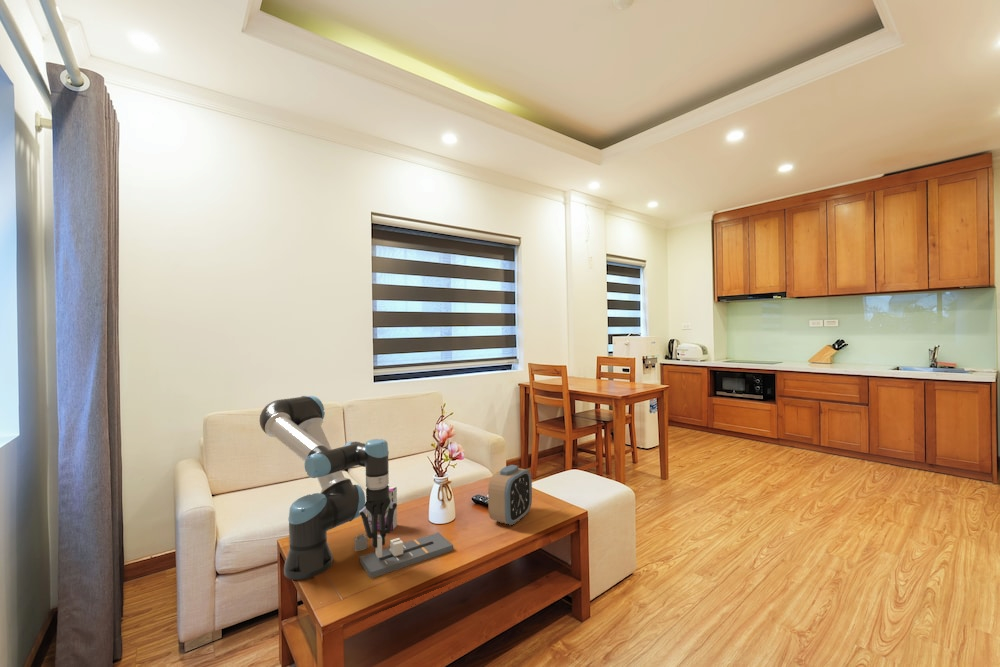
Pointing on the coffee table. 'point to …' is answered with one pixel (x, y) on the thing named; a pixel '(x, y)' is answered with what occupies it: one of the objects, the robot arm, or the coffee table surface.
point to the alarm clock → (510, 494)
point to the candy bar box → (394, 499)
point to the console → (406, 555)
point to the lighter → (361, 541)
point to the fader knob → (396, 547)
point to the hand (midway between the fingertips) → (378, 555)
